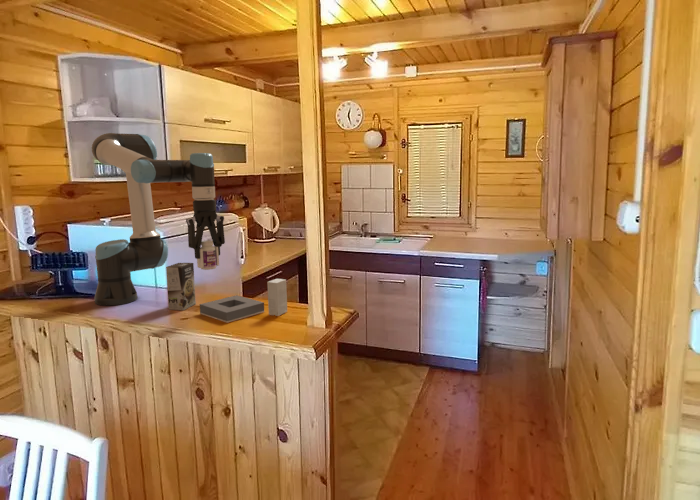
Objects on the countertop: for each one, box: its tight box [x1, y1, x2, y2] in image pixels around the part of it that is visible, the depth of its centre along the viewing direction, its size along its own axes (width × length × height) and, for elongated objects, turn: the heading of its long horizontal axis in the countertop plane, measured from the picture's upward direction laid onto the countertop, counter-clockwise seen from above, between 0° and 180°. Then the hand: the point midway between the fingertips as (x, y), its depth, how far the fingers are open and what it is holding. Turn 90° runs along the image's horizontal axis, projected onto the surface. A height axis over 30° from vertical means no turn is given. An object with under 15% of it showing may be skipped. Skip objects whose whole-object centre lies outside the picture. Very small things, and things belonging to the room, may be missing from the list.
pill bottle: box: [200, 240, 217, 271], centre depth 170 cm, size 5×5×10 cm
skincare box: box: [267, 278, 288, 317], centre depth 174 cm, size 6×4×12 cm
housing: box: [199, 294, 265, 323], centre depth 176 cm, size 16×16×4 cm
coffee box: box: [165, 262, 197, 311], centre depth 183 cm, size 9×6×16 cm
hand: (208, 266), depth 171 cm, fingers closed on pill bottle, 5 cm apart
